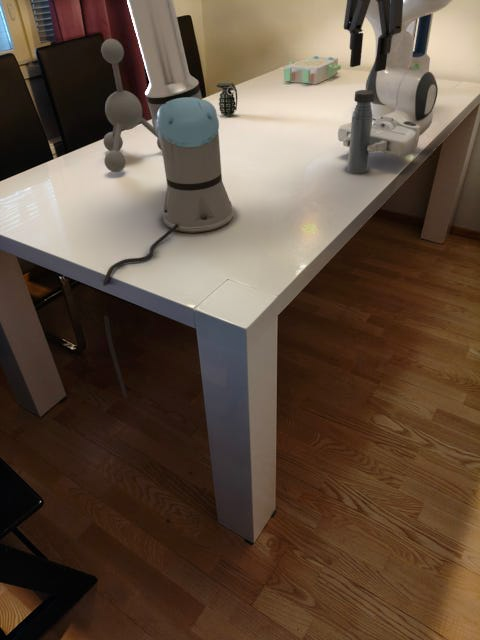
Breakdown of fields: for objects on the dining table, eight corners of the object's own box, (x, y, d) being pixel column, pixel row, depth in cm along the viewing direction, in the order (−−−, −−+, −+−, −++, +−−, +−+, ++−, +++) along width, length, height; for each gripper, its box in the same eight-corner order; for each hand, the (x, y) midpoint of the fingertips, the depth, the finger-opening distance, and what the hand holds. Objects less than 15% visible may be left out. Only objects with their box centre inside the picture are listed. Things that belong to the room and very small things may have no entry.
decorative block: (306, 54, 217) (347, 57, 207) (305, 70, 221) (345, 73, 211) (275, 65, 201) (318, 69, 191) (275, 82, 205) (317, 87, 195)
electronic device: (396, 96, 178) (410, -2, 160) (386, 91, 184) (398, -4, 166) (427, 92, 181) (443, -5, 162) (416, 87, 186) (431, -6, 168)
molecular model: (189, 163, 134) (174, 38, 115) (109, 178, 128) (80, 49, 110) (167, 139, 151) (151, 28, 133) (95, 151, 145) (69, 36, 127)
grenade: (217, 117, 168) (214, 86, 162) (221, 112, 172) (219, 82, 166) (235, 117, 166) (233, 86, 160) (239, 113, 171) (238, 82, 165)
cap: (356, 97, 117) (357, 89, 116) (375, 98, 115) (376, 90, 114) (352, 102, 114) (353, 94, 112) (372, 103, 112) (372, 94, 111)
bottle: (349, 165, 127) (356, 91, 116) (368, 167, 126) (377, 91, 115) (345, 172, 124) (352, 96, 113) (364, 174, 122) (373, 97, 111)
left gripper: (331, -58, 101) (324, 65, 115) (409, -62, 88) (391, 77, 102) (356, -60, 104) (346, 60, 118) (434, -64, 91) (413, 71, 106)
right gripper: (357, 113, 132) (324, 125, 125) (426, 126, 120) (394, 141, 112) (354, 136, 136) (323, 150, 128) (421, 152, 124) (390, 168, 116)
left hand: (367, 67), depth 110 cm, fingers open, 7 cm apart
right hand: (357, 146), depth 120 cm, fingers open, 6 cm apart
